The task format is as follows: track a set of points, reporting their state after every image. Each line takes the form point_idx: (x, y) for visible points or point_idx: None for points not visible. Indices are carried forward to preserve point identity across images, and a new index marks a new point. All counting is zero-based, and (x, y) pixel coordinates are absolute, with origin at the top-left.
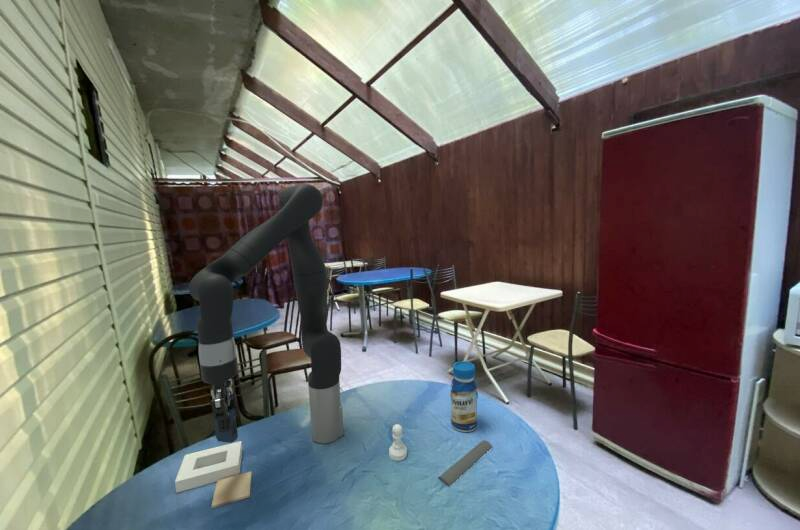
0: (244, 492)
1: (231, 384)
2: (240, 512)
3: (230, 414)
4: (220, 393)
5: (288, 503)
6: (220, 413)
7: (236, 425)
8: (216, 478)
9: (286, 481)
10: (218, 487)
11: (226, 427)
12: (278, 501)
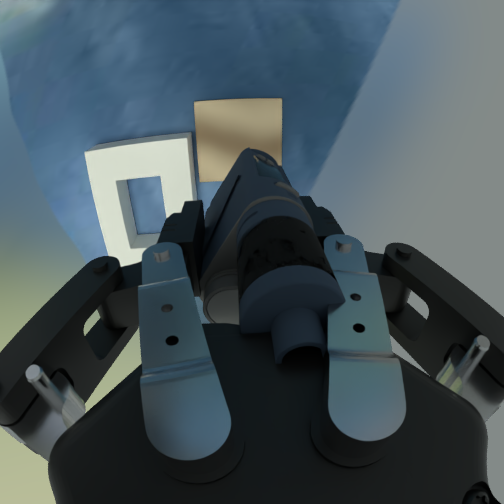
0: (269, 110)
1: (223, 405)
2: (318, 116)
3: (311, 223)
4: (485, 421)
5: (337, 19)
6: (392, 298)
7: (254, 164)
8: (194, 185)
9: (263, 15)
10: (225, 174)
11: (331, 216)
12: (322, 37)
